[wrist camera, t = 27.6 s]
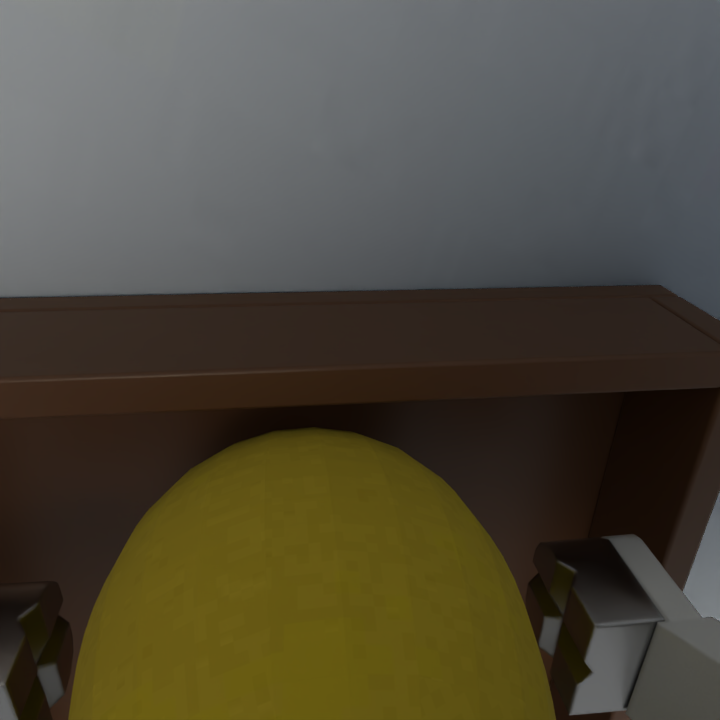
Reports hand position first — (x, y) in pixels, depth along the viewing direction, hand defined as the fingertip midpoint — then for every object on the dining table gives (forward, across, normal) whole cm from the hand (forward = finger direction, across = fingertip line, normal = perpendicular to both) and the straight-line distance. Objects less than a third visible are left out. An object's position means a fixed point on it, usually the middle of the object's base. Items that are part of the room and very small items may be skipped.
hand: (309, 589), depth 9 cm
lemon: (+3, 0, 0) cm, 3 cm away
